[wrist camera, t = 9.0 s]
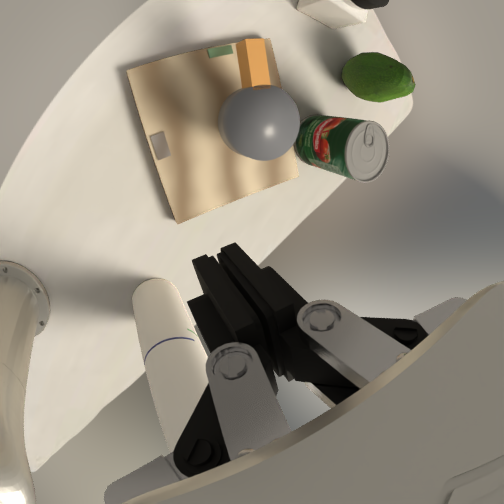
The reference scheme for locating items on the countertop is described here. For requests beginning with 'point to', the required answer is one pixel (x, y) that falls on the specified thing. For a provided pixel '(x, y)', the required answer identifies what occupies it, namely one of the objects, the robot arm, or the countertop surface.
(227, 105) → the grey paddle
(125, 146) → the countertop surface
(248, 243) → the countertop surface
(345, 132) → the canned tomato
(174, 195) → the plate
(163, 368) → the cylindrical container
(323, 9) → the medicine bottle
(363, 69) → the avocado
